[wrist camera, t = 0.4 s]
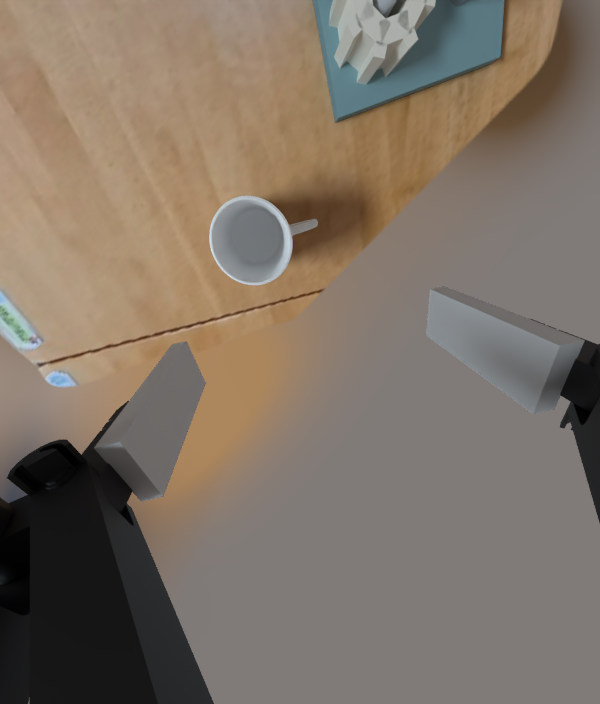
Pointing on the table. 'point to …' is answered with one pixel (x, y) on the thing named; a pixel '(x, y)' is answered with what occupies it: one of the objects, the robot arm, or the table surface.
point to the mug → (253, 239)
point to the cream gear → (376, 33)
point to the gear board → (415, 53)
